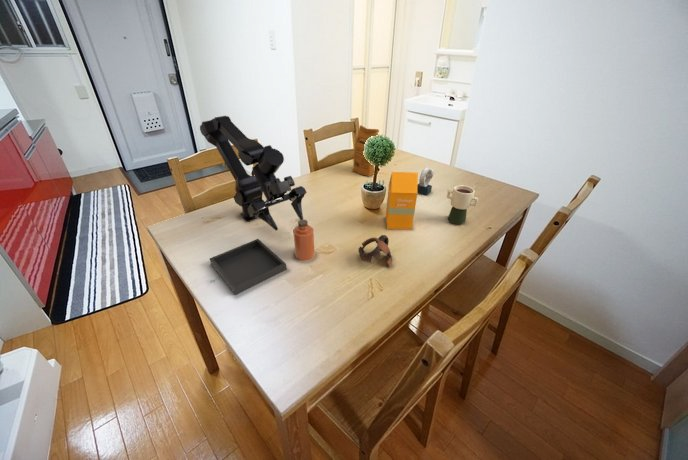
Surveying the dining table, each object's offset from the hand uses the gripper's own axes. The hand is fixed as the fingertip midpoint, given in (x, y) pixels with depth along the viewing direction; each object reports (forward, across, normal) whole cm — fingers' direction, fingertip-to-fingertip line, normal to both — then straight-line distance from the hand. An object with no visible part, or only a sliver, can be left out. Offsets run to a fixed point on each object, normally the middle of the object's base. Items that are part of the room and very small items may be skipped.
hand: (289, 224), depth 94 cm
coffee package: (-15, +63, +26) cm, 70 cm away
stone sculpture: (+9, +66, +3) cm, 67 cm away
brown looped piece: (+22, +16, -11) cm, 29 cm away
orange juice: (+16, +37, -4) cm, 40 cm away
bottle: (+11, 0, 0) cm, 11 cm away
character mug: (+25, +55, -14) cm, 62 cm away
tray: (+7, -16, +5) cm, 18 cm away
